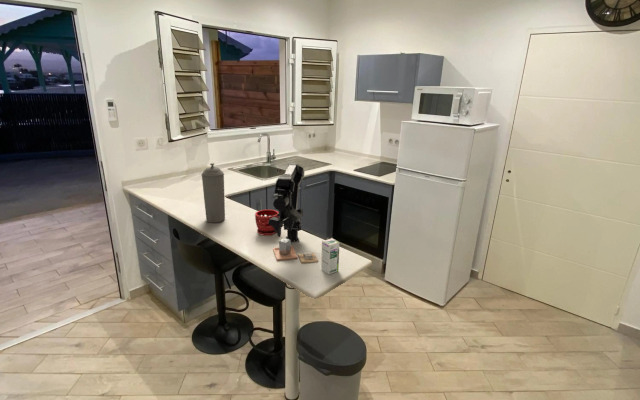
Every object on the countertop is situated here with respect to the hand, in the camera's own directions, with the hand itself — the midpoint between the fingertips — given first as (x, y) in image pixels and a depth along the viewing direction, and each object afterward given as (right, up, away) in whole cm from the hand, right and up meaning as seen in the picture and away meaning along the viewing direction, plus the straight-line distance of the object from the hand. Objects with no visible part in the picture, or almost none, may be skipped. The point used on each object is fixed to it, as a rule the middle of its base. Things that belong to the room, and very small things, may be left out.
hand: (284, 233), depth 170 cm
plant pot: (-13, -2, +28) cm, 31 cm away
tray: (0, -10, +4) cm, 11 cm away
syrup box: (+21, -16, -10) cm, 28 cm away
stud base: (+11, -12, 0) cm, 16 cm away
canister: (-46, +4, +43) cm, 64 cm away
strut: (0, -10, +3) cm, 11 cm away
